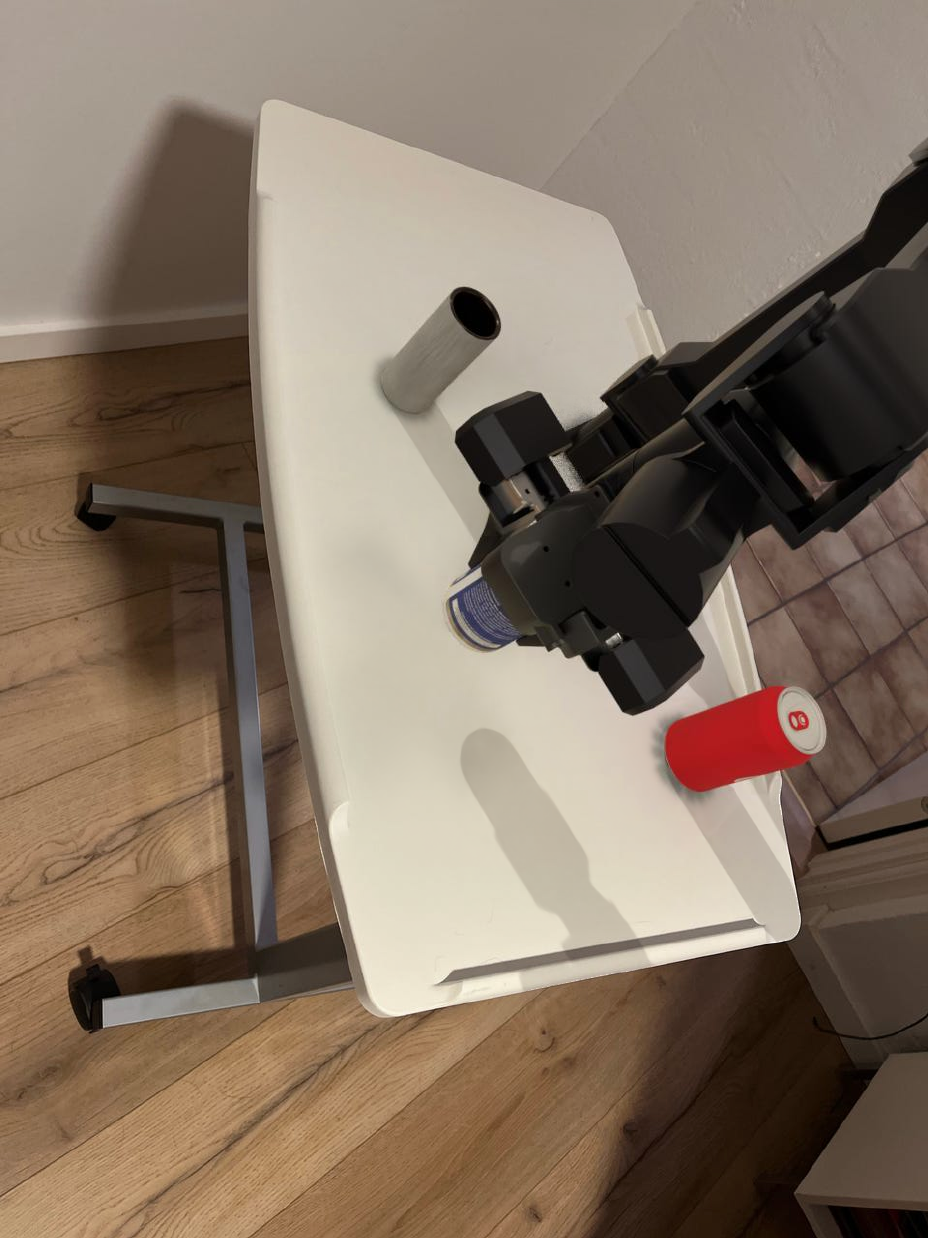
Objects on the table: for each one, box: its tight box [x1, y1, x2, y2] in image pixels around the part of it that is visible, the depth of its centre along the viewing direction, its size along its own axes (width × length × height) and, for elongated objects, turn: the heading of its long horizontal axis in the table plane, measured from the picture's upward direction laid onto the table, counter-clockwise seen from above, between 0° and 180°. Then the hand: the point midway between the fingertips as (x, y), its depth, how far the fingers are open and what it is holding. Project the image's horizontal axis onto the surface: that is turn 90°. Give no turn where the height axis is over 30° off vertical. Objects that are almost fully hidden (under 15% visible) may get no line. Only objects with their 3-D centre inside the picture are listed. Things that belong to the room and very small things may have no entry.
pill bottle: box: [442, 561, 524, 654], centre depth 56 cm, size 5×5×10 cm
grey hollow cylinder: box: [380, 286, 502, 414], centre depth 69 cm, size 4×4×10 cm
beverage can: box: [664, 685, 827, 793], centre depth 72 cm, size 6×6×12 cm
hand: (496, 602), depth 57 cm, fingers closed on pill bottle, 5 cm apart
